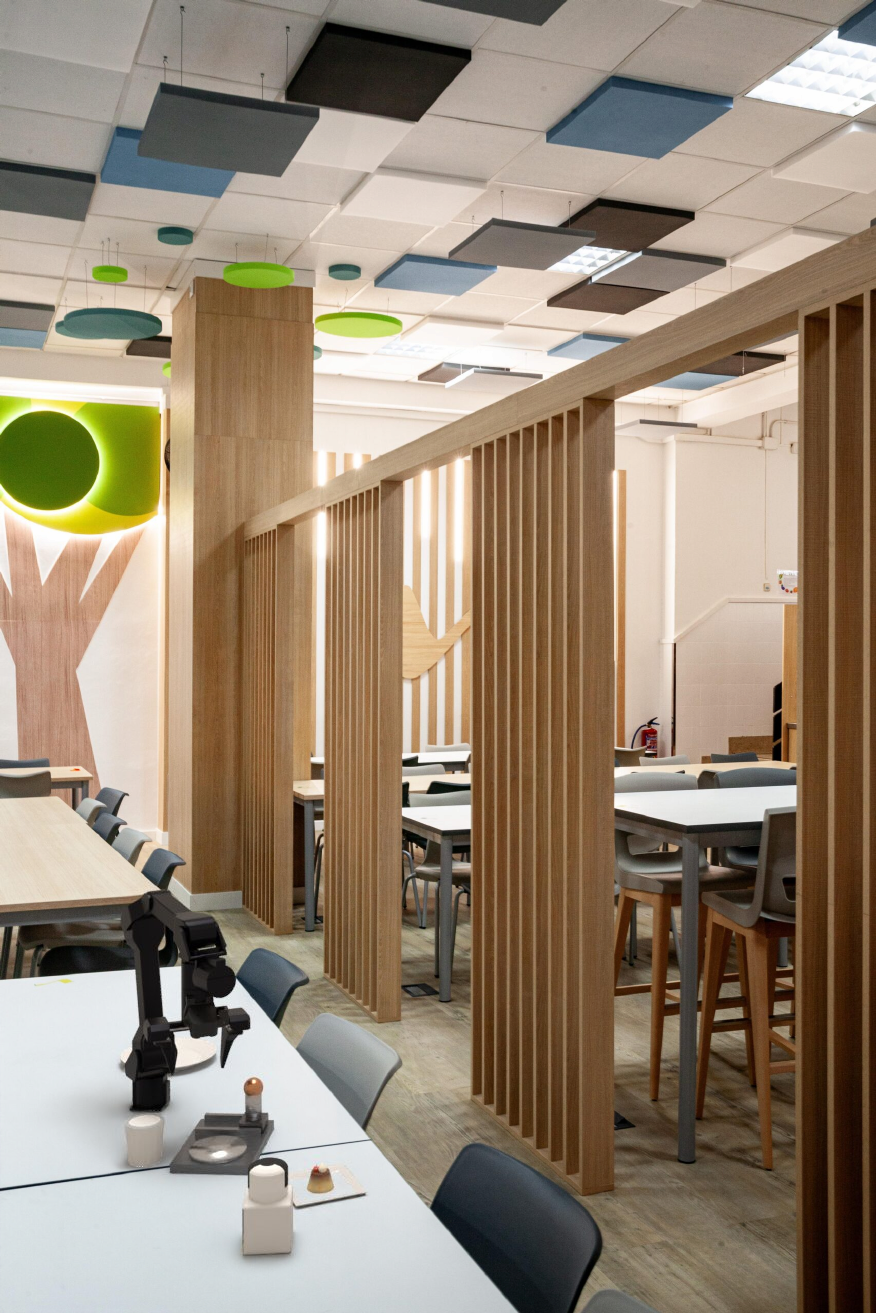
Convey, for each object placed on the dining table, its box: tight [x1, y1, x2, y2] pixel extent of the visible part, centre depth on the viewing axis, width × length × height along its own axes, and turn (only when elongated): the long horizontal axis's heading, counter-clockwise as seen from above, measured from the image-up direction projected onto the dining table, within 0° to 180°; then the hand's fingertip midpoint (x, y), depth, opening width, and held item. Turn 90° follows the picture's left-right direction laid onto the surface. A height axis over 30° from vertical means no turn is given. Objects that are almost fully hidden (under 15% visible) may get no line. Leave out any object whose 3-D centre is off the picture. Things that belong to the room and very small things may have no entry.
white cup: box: [124, 1113, 165, 1168], centre depth 200 cm, size 7×7×7 cm
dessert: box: [288, 1161, 367, 1208], centre depth 189 cm, size 12×12×5 cm
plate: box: [120, 1037, 218, 1072], centre depth 252 cm, size 21×21×2 cm
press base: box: [169, 1112, 275, 1176], centre depth 205 cm, size 14×20×3 cm
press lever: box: [239, 1077, 269, 1132], centre depth 210 cm, size 4×5×9 cm
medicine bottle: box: [241, 1156, 294, 1256], centre depth 171 cm, size 7×7×12 cm
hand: (197, 1071), depth 208 cm, fingers open, 9 cm apart
